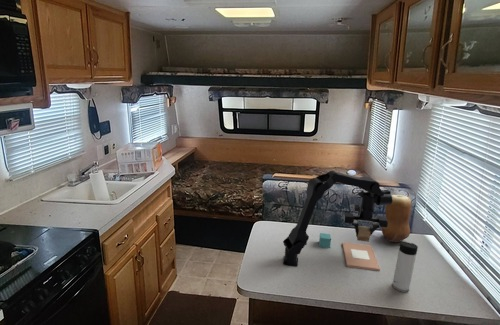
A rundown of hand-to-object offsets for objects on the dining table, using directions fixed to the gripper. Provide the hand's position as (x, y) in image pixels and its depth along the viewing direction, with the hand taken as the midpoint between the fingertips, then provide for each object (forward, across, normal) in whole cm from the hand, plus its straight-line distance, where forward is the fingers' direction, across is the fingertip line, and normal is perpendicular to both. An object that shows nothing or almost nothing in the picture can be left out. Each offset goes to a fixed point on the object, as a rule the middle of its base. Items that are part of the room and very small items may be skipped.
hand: (362, 236), depth 147 cm
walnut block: (+1, 0, 0) cm, 1 cm away
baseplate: (+10, 0, 0) cm, 11 cm away
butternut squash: (+11, -20, -20) cm, 30 cm away
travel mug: (+11, -13, +20) cm, 26 cm away
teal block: (+11, +16, -7) cm, 20 cm away
